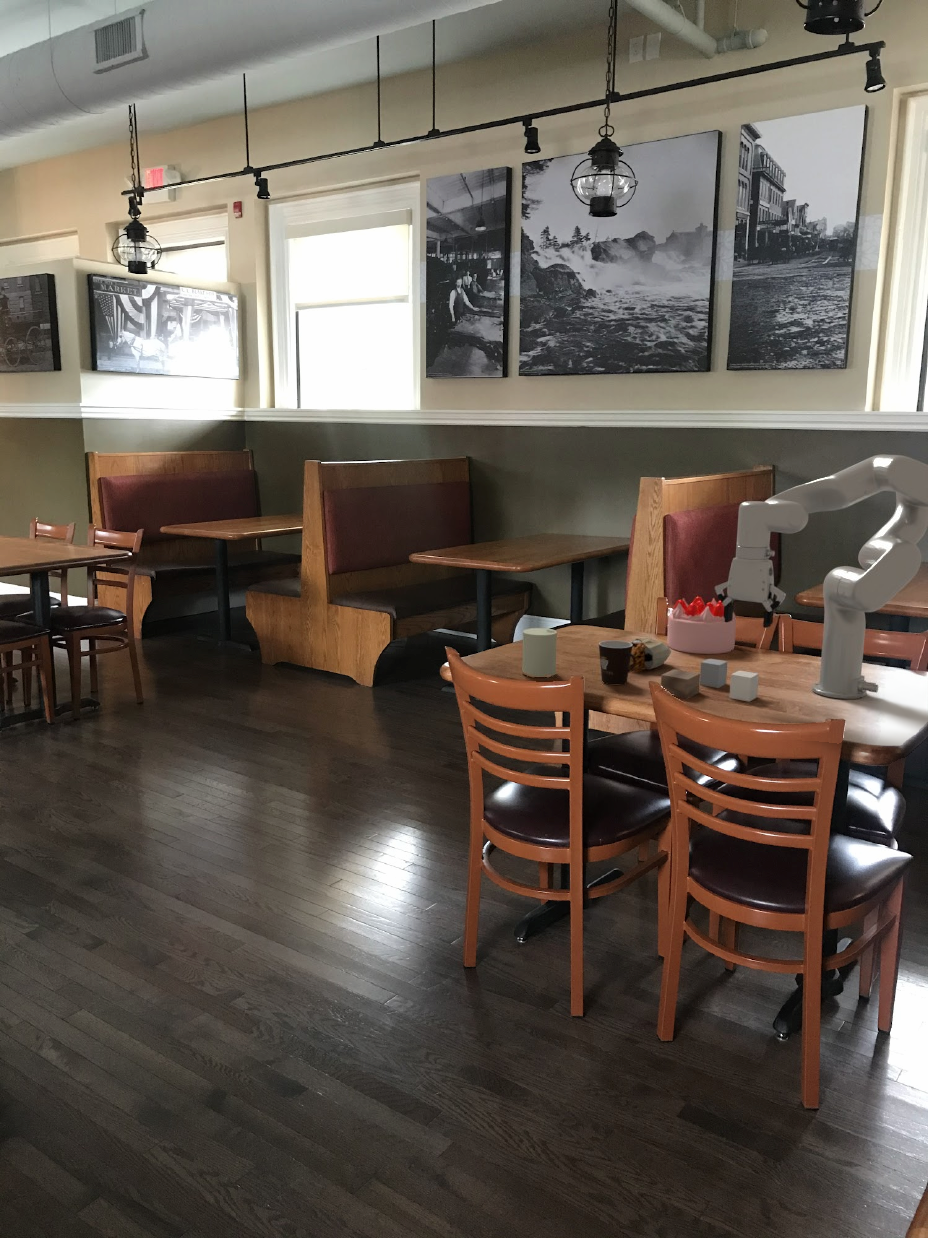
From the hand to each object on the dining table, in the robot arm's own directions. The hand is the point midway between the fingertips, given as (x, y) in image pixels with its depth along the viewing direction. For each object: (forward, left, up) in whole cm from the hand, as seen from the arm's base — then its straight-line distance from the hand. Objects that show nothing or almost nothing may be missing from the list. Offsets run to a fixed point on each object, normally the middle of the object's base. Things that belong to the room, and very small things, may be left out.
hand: (747, 624), depth 234 cm
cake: (+31, -45, -19) cm, 58 cm away
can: (+52, +12, -19) cm, 56 cm away
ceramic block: (0, 0, -18) cm, 18 cm away
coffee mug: (+31, +8, -19) cm, 37 cm away
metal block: (+14, +6, -19) cm, 24 cm away
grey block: (+11, -7, -18) cm, 22 cm away
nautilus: (+34, -10, -19) cm, 40 cm away
